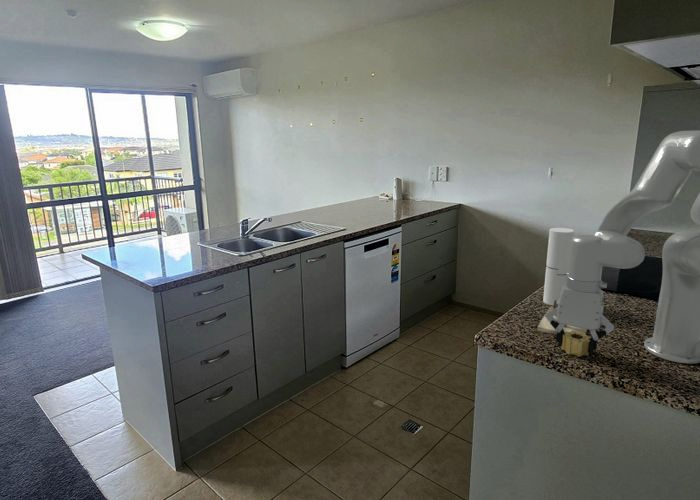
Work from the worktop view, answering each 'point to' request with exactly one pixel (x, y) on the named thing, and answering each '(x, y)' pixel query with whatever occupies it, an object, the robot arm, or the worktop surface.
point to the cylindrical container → (557, 263)
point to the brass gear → (575, 343)
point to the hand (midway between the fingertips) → (575, 347)
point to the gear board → (548, 328)
